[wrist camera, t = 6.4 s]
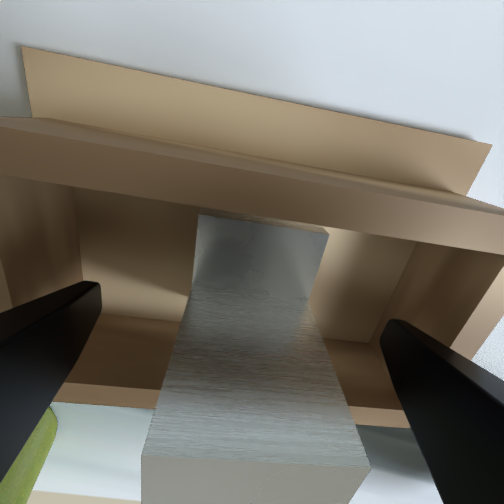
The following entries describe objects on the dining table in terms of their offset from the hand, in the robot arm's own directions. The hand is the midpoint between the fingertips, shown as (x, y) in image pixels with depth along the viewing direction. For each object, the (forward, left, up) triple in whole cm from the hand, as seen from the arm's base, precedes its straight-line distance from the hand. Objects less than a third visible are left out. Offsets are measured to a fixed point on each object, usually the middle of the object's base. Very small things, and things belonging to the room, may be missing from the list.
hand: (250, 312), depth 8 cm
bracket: (0, 0, -3) cm, 3 cm away
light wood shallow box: (0, 0, -4) cm, 4 cm away
